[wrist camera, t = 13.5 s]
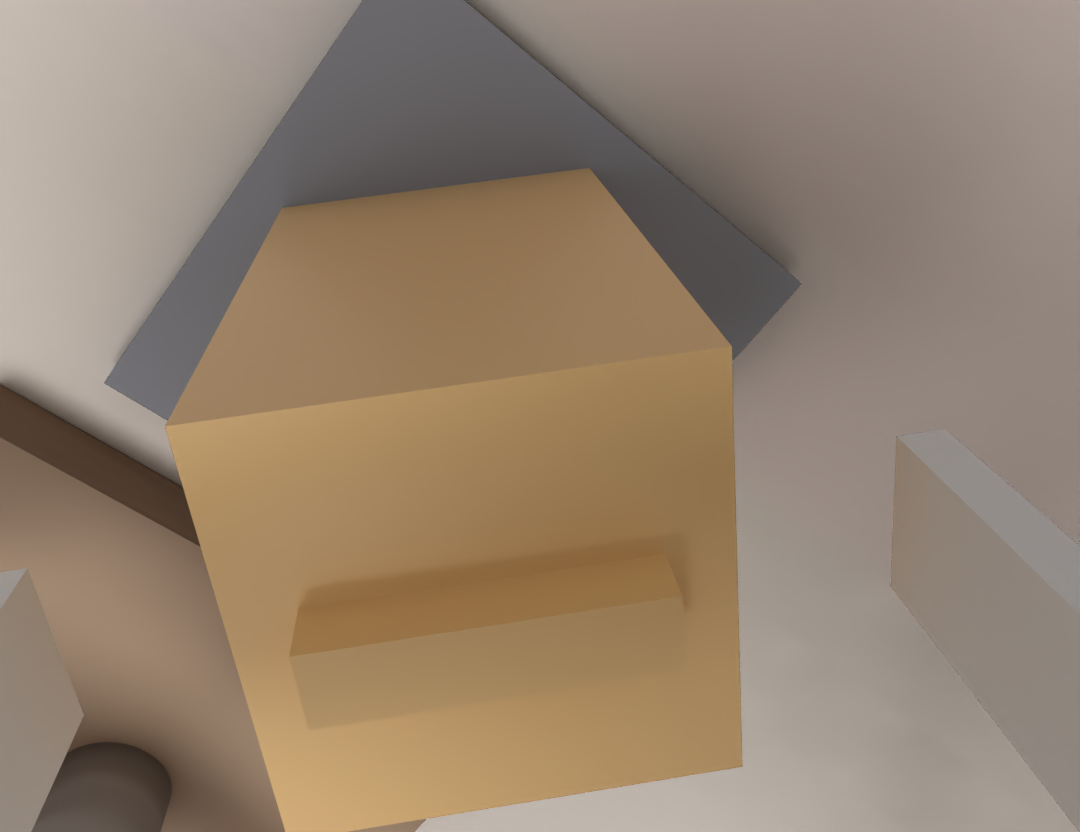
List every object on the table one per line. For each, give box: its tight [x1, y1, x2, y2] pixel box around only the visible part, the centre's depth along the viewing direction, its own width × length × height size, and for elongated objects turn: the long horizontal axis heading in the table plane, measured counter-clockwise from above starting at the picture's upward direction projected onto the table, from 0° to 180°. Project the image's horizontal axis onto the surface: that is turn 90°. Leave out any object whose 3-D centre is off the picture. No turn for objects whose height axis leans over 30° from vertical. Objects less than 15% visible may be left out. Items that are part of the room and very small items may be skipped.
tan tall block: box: [165, 168, 742, 832], centre depth 19 cm, size 7×7×12 cm
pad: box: [104, 0, 802, 420], centre depth 25 cm, size 12×12×1 cm
